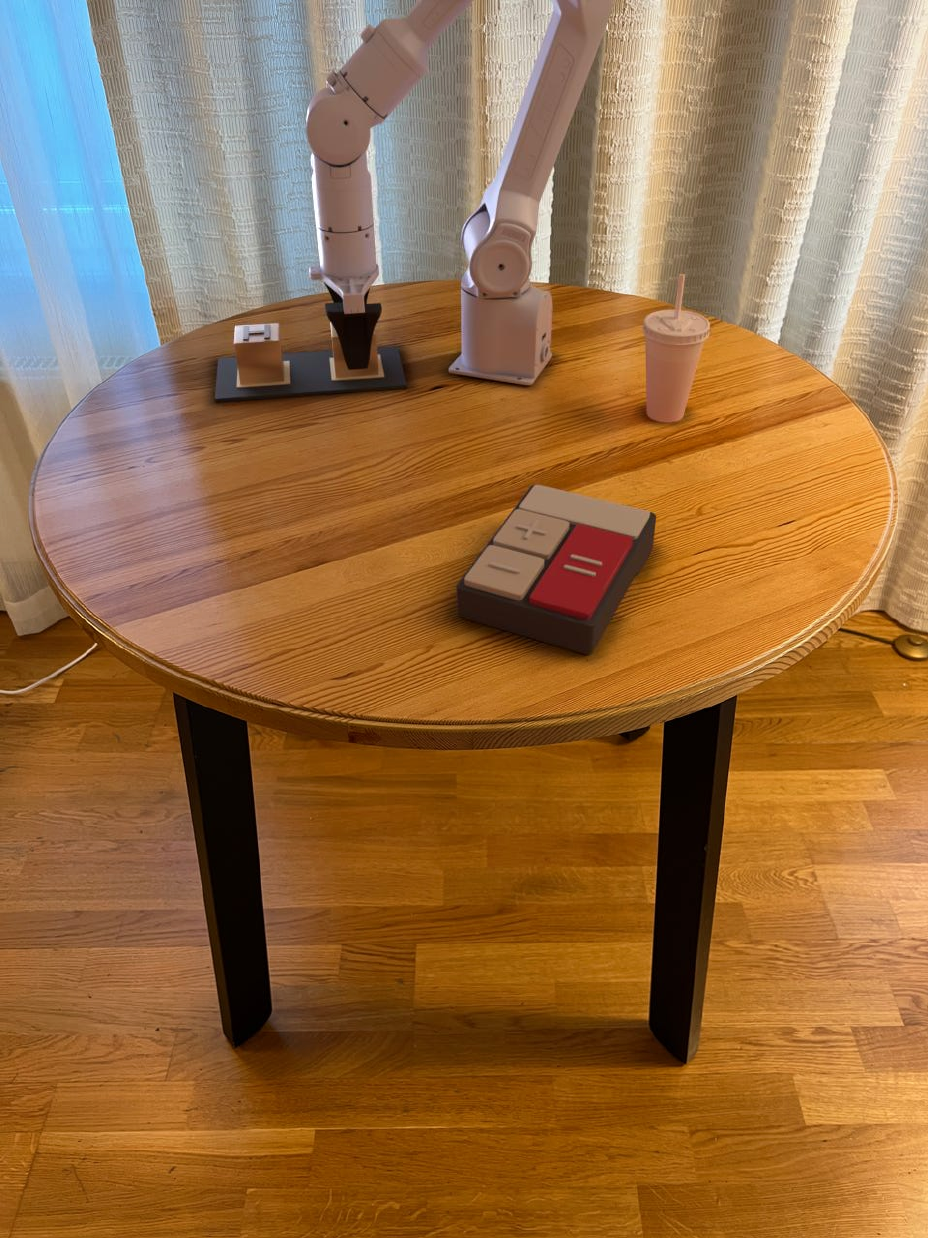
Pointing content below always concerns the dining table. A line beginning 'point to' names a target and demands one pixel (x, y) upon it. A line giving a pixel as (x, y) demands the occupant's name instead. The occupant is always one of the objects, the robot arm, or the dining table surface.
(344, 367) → the letter block i
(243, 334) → the letter block h
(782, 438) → the dining table surface
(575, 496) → the calculator
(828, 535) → the dining table surface
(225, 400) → the word mat
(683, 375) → the smoothie
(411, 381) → the dining table surface
